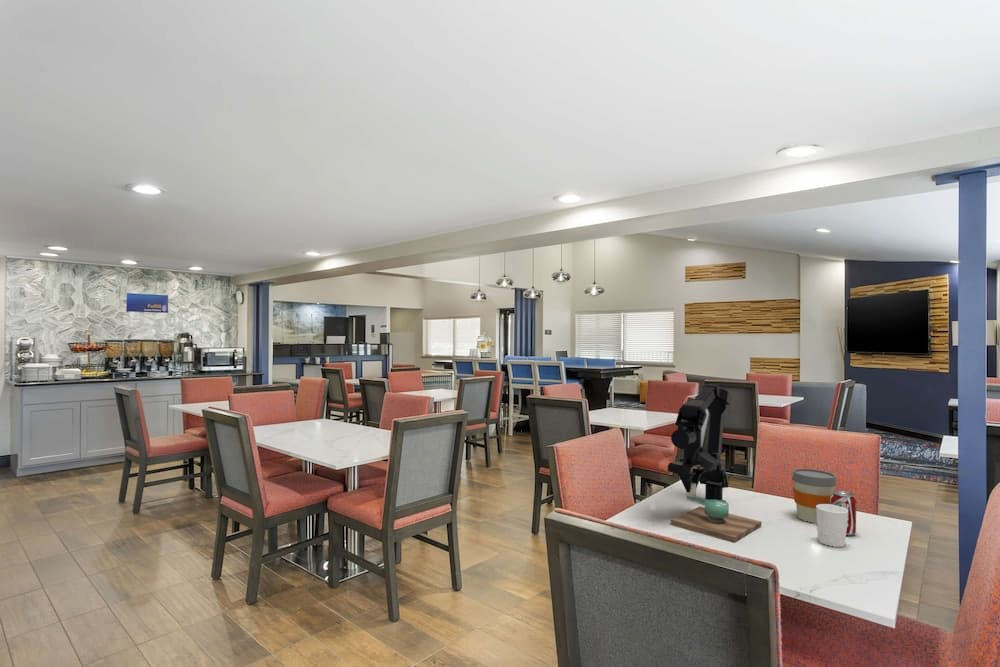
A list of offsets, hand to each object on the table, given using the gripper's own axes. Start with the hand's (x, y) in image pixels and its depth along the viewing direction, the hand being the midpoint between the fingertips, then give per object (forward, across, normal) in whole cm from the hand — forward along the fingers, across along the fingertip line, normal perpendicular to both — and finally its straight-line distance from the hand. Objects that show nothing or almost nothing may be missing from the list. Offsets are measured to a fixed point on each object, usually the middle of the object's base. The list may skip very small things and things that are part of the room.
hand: (691, 491), depth 179 cm
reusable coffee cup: (+9, +32, -25) cm, 41 cm away
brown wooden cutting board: (+8, 0, -9) cm, 12 cm away
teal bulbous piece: (+5, 0, -5) cm, 7 cm away
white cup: (+9, +14, -37) cm, 40 cm away
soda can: (+9, +26, -35) cm, 45 cm away
